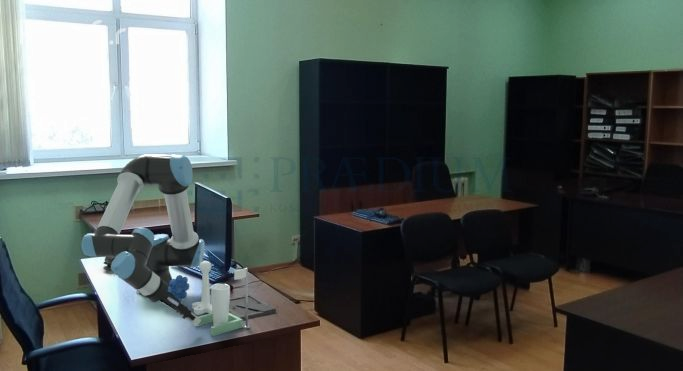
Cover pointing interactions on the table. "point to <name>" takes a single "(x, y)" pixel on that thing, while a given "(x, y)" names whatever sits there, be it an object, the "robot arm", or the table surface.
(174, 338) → the table surface
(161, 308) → the table surface
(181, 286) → the grapes
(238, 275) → the flag post
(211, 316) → the green u-shaped piece
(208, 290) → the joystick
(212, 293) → the drinking glass
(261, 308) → the picture frame
